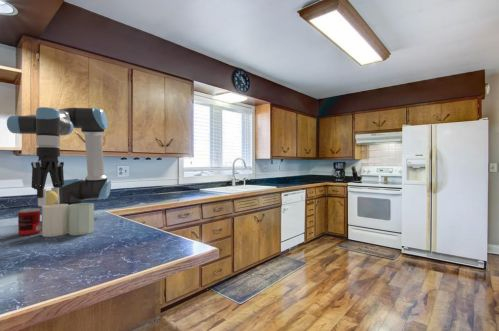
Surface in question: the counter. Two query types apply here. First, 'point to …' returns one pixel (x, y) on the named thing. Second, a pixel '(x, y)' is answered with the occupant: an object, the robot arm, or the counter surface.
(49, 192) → the ball loose
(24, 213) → the canned food
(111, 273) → the counter surface
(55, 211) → the crock cream
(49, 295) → the counter surface
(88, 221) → the crock sage
